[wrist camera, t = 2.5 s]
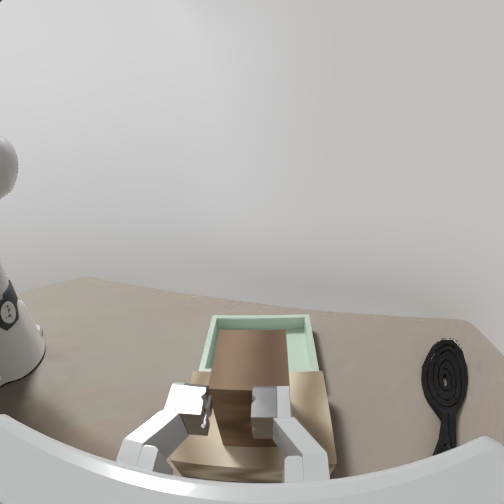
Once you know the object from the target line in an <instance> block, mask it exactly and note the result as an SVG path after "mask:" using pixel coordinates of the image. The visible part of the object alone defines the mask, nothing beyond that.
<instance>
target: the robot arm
mask: <svg viewBox="0 0 504 504" xmlns="http://www.w3.org/2000/svg"><path fill="white" fill-rule="evenodd" d="M1 1H2V0H0V2H1ZM17 173H18V159H17V155H16V152H15V150H14V148H13V146H12V144H10V142H9V141H8V140H7V139H5V138H3V137H0V199H1V198H2V197H4V196H5V195H7V194H8V193H10V192H11V190H12V189H13V187H14V184H15V182H16V178H17ZM44 351H45V342H44V340H43V338H42V328H41V327H40V325H35V323H34V321H33V319H32V318H31V316H30V314H29V312H28V310H27V309H26V307H25V305H24V303H23V302H22V301H20V300H18V298H17V295H16V293H15V289H14V287H13V286H12V284H11V281H10V280H8V279H7V276H6V273H5V270H4V268H3V265H2V262H1V259H0V386H1V385H3V384H4V383H6V382H9V381H14V380H17V379H19V378H22V377H23V376H25V375H27V374H28V373H29V372H31V371H32V370H33V369H34V368H35V367H36V366H37V365H38V363H39V362H40V360H41V359H42V357H43V354H44ZM209 392H210V389H209V385H198V384H188V383H179V382H174V383H173V384H172V386H171V389H170V392H169V395H168V398H167V401H166V405H165V408H164V411H159V412H158V413H157V414H156V415H154V416H153V417H152V418H150V419H149V420H148V421H147V422H145V423H144V424H143V425H141V426H140V427H139V428H137V429H136V430H135V431H134V432H132V433H131V434H130V435H128V436H127V437H126V438H124V440H123V443H122V445H121V448H120V451H119V454H118V456H117V459H116V462H115V461H111V460H108V459H105V458H102V457H99V456H96V455H93V454H90V453H87V452H84V451H82V450H79V449H76V448H74V447H71V446H69V445H66V444H64V443H62V442H59V441H57V440H55V439H52V438H50V437H48V436H46V435H44V434H42V433H40V432H38V431H36V430H34V429H32V428H30V427H28V426H26V425H24V424H22V423H20V422H18V421H16V420H15V419H13V418H11V417H10V416H8V415H5V414H1V415H0V504H504V445H502V444H501V443H499V442H497V441H495V440H493V439H492V438H490V437H487V436H482V437H479V438H476V439H474V440H472V441H470V442H468V443H465V444H463V445H461V446H458V447H456V448H453V449H451V450H448V451H445V452H443V453H440V454H437V455H434V456H431V457H428V458H425V459H422V460H419V461H416V462H412V463H409V464H405V465H402V466H398V467H394V468H390V469H386V470H381V471H377V472H372V473H367V474H362V475H356V476H350V477H344V478H337V479H330V475H329V466H328V457H327V452H326V451H325V450H324V449H323V448H322V447H321V446H320V445H319V444H318V443H317V441H316V440H315V439H314V438H313V437H312V436H311V435H310V434H309V433H308V432H307V430H306V429H305V428H304V427H303V426H302V425H301V424H300V423H299V422H298V420H297V419H296V418H295V417H291V402H290V388H289V386H253V389H252V400H253V403H252V405H251V426H252V435H253V438H257V439H273V441H274V442H275V443H276V445H277V446H278V448H279V449H280V451H281V452H282V453H283V455H284V456H285V461H284V468H283V475H282V483H237V482H222V481H211V480H202V479H194V478H187V477H181V476H175V475H173V469H172V468H171V467H170V465H169V464H168V463H167V461H166V459H167V458H168V457H169V456H170V455H171V454H172V453H173V452H174V451H175V450H176V449H177V447H178V446H179V445H180V444H181V443H182V442H183V441H184V440H185V439H186V438H187V437H188V436H189V435H201V436H208V432H209V427H210V422H209V419H208V418H209V417H210V416H211V415H212V406H213V403H212V397H211V396H210V395H209Z"/></svg>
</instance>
